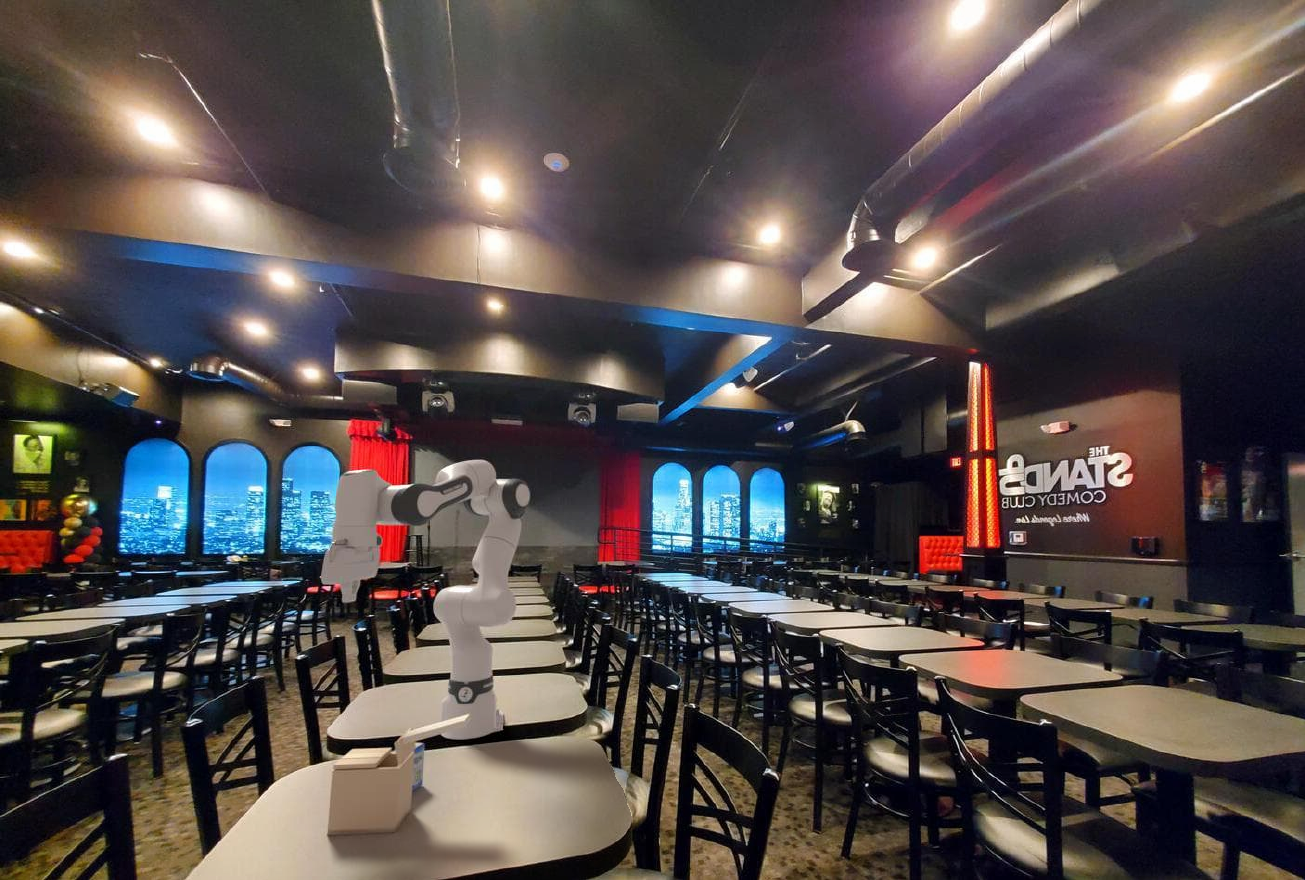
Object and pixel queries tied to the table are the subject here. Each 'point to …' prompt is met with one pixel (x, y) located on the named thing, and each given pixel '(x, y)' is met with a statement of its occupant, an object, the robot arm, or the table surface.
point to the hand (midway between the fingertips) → (348, 601)
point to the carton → (370, 792)
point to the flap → (426, 735)
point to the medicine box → (417, 766)
